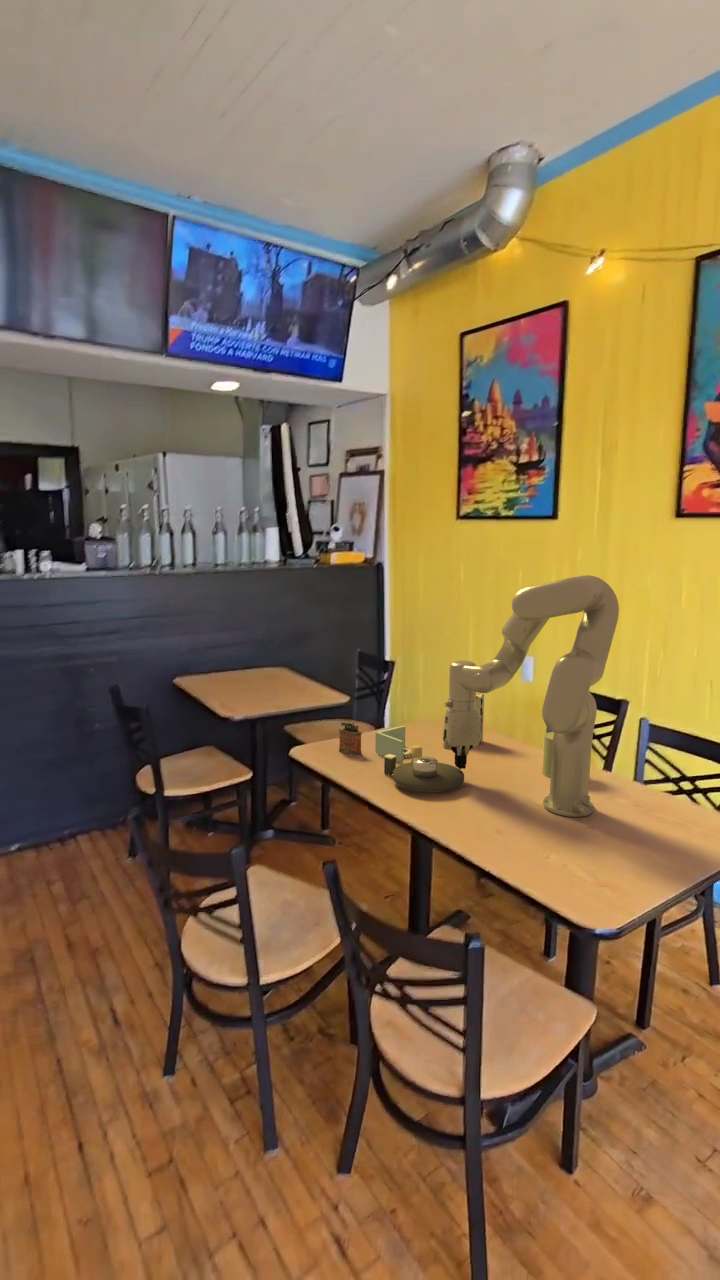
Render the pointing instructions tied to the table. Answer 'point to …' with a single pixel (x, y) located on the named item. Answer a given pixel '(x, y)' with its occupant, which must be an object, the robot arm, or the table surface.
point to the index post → (389, 764)
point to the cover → (425, 767)
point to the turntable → (442, 782)
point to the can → (547, 754)
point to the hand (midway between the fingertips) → (460, 767)
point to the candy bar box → (480, 711)
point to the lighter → (350, 739)
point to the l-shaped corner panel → (392, 743)
